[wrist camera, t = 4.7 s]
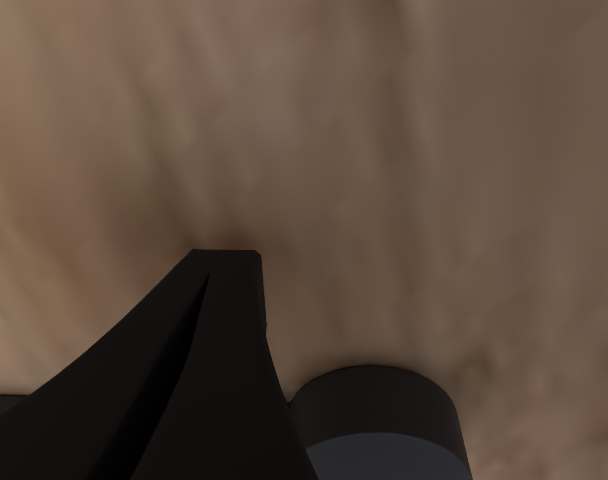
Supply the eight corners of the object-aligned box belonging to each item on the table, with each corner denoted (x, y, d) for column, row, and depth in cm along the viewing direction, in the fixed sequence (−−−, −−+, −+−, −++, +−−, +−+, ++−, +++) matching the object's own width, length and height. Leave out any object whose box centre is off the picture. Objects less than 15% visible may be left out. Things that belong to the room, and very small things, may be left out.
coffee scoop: (-14, 458, 16) (-53, 521, 15) (-80, 353, 14) (-138, 417, 12) (444, 474, 16) (457, 542, 14) (470, 367, 13) (490, 437, 11)
